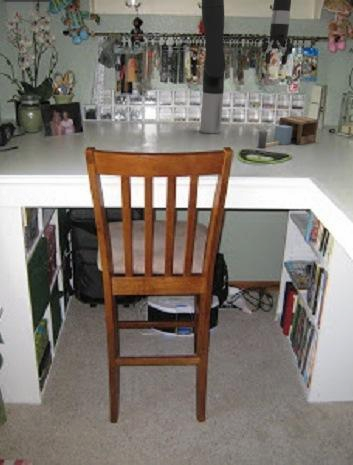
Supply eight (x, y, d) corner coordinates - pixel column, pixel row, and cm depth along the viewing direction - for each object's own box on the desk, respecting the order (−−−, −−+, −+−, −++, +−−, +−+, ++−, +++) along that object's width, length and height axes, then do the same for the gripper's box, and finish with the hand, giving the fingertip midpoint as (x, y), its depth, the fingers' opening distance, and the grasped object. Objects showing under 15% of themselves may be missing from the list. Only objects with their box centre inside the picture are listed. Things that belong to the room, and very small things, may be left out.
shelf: (293, 136, 210) (296, 115, 207) (315, 141, 203) (318, 119, 199) (277, 139, 203) (279, 117, 200) (298, 144, 196) (301, 121, 192)
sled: (280, 141, 201) (282, 124, 198) (290, 143, 198) (292, 126, 195) (254, 146, 190) (256, 129, 187) (264, 148, 187) (266, 131, 184)
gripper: (299, 23, 193) (294, 65, 200) (272, 22, 203) (268, 62, 210) (288, 22, 189) (283, 65, 195) (261, 22, 199) (257, 62, 205)
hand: (275, 64), depth 203 cm, fingers open, 8 cm apart
